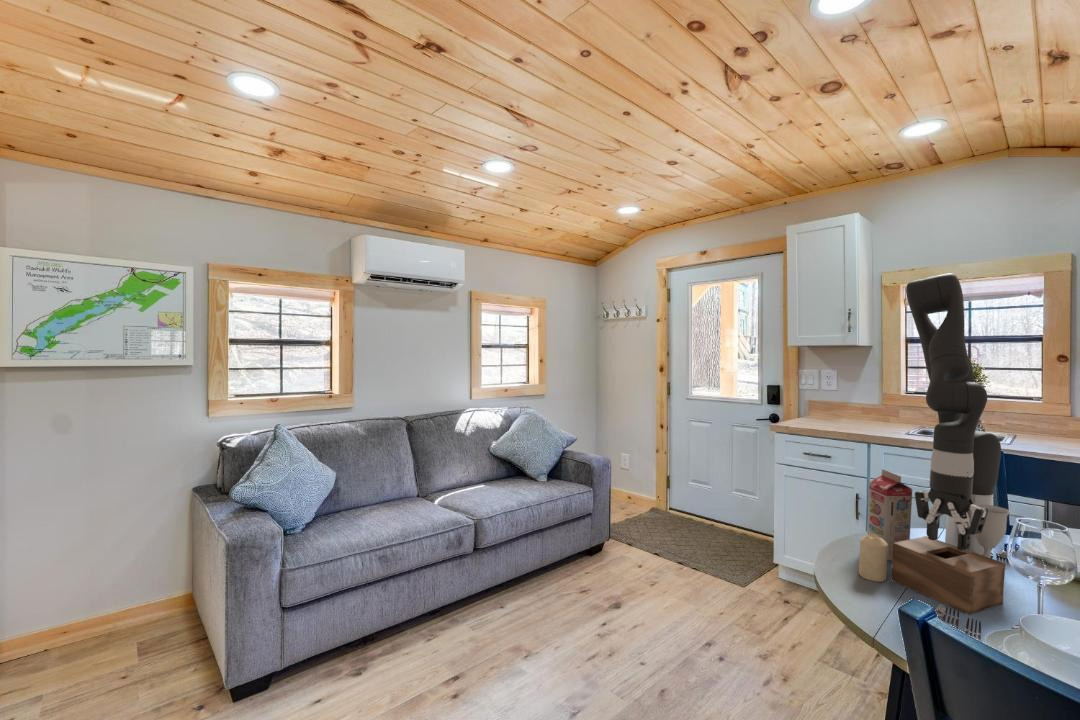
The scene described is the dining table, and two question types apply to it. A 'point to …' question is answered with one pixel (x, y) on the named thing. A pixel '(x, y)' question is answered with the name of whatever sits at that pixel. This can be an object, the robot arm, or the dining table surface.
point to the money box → (949, 574)
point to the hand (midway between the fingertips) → (947, 544)
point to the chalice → (992, 527)
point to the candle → (873, 558)
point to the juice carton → (889, 509)
